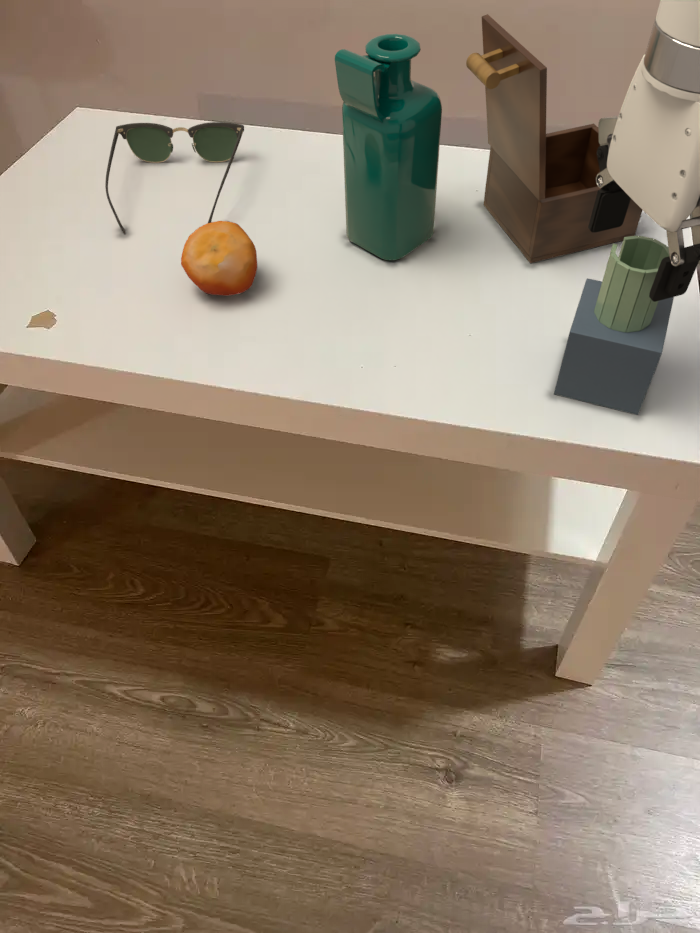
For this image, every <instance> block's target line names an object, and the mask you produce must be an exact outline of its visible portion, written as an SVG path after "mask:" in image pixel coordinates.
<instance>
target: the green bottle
mask: <svg viewBox="0 0 700 933" xmlns="http://www.w3.org/2000/svg"><path fill="white" fill-rule="evenodd" d="M364 47H365V53H366V54H367V55H361V54H359V53H356V52H353V51H351V50H349V49H346V48H342V49H339V50H338V51H337V52H336V53H335V55H334V66H335V73H336V80H337V81H336V82H337V88H338V92H339V95H340V98H341V100H342V101H343V102H342V105H341V109H342V110H341V118H342V119H341V120H342V145H343V146H342V147H343V149H342V150H343V170H344V171H343V173H344V174H343V175H344V203H345V204H344V205H345V231H346V232H345V233H346V234H345V235H346V238H347V239H348V241H349V242H351V243H353V244H355V245H357V246H358V247H360V248H362V249H363V250H365V251H367V252H369V253H371V254H372V255H374V256H376V257H378V258H380V260H381V259H382V260H384V261H385V260H386V261H399V260H401V259H402V258H404V257H406V256H407V255H409V254H410V253H411V252H413V251H414V250H416V249H418V248H419V247H420V246H422V245H423V244H425V243H426V242H428V241H429V240H431V238H432V236H433V235H434V233H435V220H436V219H435V218H436V204H437V203H436V202H437V189H438V175H439V174H438V173H439V162H440V161H439V160H440V159H439V158H440V145H441V131H442V114H443V106H442V105H443V104H442V100H441V97H440V95H439V93H438V92H437V91H436V90H435V89H433V88H432V87H429V86H426V85H424V84H422V83H419V82H417V81H415V80H412V78H411V74H412V59H414V58H415V57H417V56H418V55H419V53H420V52H421V51H422V50H421V43H420V42H419V41H418V40H417V39H415V38H414V37H412V36H410V35H407V34H401V33H385V34H381V35H377V36H375V37H373V38H371V39H370V40H369V41H367V43H366V44H365V46H364Z"/></svg>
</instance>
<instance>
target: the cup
mask: <svg viewBox="0 0 700 933" xmlns="http://www.w3.org/2000/svg"><path fill="white" fill-rule="evenodd" d="M618 246H619V245H618V244H617V243H612V246H611V249H610V252H609V256H608V259H607V263H606V265H605V271H604V274H603V278H602V280H601V281H602V284H601V288H600V291H599V295H598V298H597V302H596V306H595V309H594V313H595V315H596V317H597V319H598V321H600V323H602V324H603V325H605V326H606V327H608V328H609V329H612V330H616V331H620V332H627V333H628V332H636V331H640V330H643V329H644V328H645V327H647V326H648V325H650V323H651V321H652V318H653V315H654V312H655V309H656V307H657V304H658V301H656V302H653V301H652V300H651V298H650V297H649V293H650V290H651V287H652V285H653V282H654V279H655V277H656V274H657V271H658V268H659V266H660V263H661V261H662V259H663V258H665V257H668V256H669V248H668V245H667V244H665V243H663V242H661V240H660V241H659V240H658V239H657V238H653V237H649V236H643V235H635V236H629V237H624V239H623V241H622V243H621V247H620V250H619V253H618V254H617V249H618Z"/></svg>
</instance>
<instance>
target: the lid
mask: <svg viewBox="0 0 700 933" xmlns="http://www.w3.org/2000/svg"><path fill="white" fill-rule="evenodd" d="M481 31H482V33H481V34H482V35H481V36H482V52H483V54H480V53H479V52H472V53H470V54H469V56H468V57H467V58H466V61H465V66H466V68H467V69H468V70H469V71H470V72H471V73H472V74H473V75H474V76H475V77H476V79H478V80H479V82H481V83H482V84H483V85H484V88H485V89H484V90H485V110H486V111H485V112H486V128H487V144H488V145H489V146H491V147H492V148H493V149H494V150H495V151H496V153H497V154H498V155H499V156H500V157H501V158H502V159H503V161H504V162H505V163H506V164H507V165H508V166H509V167H510V168H511V170H512V171H513V172H514V173H515V174H516V175H517V176H518V177H519V179H520V180H521V181H522V182H523V183H524V184H525V185H526V186H527V188H528V189H529V190H530V191H531V192H532V193H533V194H534V196H535V197H536V198H537V199H538V200H539V201H540V200H543V199H545V173H546V134H547V101H548V100H547V98H548V95H547V94H548V93H547V91H548V88H547V87H548V86H547V85H548V68H547V66H546V65H545V64H544V63H542V62H541V60H539V59H538V58H537V57H536V56H535V55H534V54H533V53H531V52H530V51H529V50H528V49H527V48H526V47H525V46H524V45H523V44H521V43H520V42H519V41H518V40H517V39H516V38H515V37H514V36H512V35H511V33H509V32H508V31H507V30H506V29H505V28H504V27H503V26H501V25H500V23H498V22H497V21H496V20H495V19H494V18H492V16H491V15H489V13H487V14H484V15H481Z"/></svg>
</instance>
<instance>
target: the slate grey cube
mask: <svg viewBox="0 0 700 933" xmlns="http://www.w3.org/2000/svg"><path fill="white" fill-rule="evenodd" d="M602 281H603V280H597V279H594V278H593V279H592V278H586V279H585V282H584V284H583V288H582V292H581V295H580V298H579V301H578V304H577V307H576V310H575V314H574V316H573V320H572V323H571V327H570V328H569V329H570V330H569V333H568V337H567V341H566V344H565V348H564V353H563V355H562V360H561V364H560V368H559V371H558V375H557V380H556V384H555V387H554V390H553V395H556V396H560V397H563V398H567V399H571V400H576V401H580V402H584V403H588V404H592V405H596V406H600V407H604V408H608V409H612V410H616V411H620V412H624V413H628V414H632V415H636V416H638V415H639V413H640V411H641V409H642V406H643V403H644V401H645V398H646V396H647V394H648V391H649V388H650V385H651V383H652V380H653V379H654V375H655V372H656V371H657V368H658V365H659V362H660V360H661V357H662V355H663V351H664V346H665V342H666V337H667V332H668V328H669V322H670V319H671V314H672V308H673V305H674V304H673V303H674V299H675V297H671V298H668V299H664V300H660V301H658V304H657V307H656V309H655V312H654V315H653V318H652V321H651V323H650V325H648V326H647V327H645V328H644V329H643V330H640V331H636V332H628V333H627V332H620V331H616V330H612V329H609V328H608V327H606V326H605V325H603V324H602V323H600V321H598V319H597V317H596V315H595V313H594V309H595V306H596V302H597V298H598V295H599V291H600V288H601V284H602Z"/></svg>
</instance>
